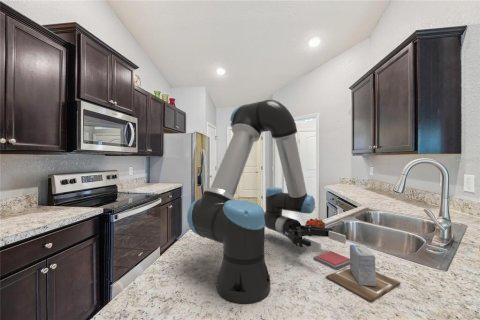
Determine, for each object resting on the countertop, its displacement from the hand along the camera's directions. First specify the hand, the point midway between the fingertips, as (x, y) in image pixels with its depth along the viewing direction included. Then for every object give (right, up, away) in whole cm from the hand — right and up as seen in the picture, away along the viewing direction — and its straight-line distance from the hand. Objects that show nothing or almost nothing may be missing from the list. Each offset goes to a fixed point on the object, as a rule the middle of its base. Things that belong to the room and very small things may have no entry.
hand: (333, 243), depth 70 cm
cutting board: (+5, -8, -8) cm, 12 cm away
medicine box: (+5, -7, -8) cm, 12 cm away
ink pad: (+2, -8, +4) cm, 9 cm away
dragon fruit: (+6, -9, +33) cm, 35 cm away
